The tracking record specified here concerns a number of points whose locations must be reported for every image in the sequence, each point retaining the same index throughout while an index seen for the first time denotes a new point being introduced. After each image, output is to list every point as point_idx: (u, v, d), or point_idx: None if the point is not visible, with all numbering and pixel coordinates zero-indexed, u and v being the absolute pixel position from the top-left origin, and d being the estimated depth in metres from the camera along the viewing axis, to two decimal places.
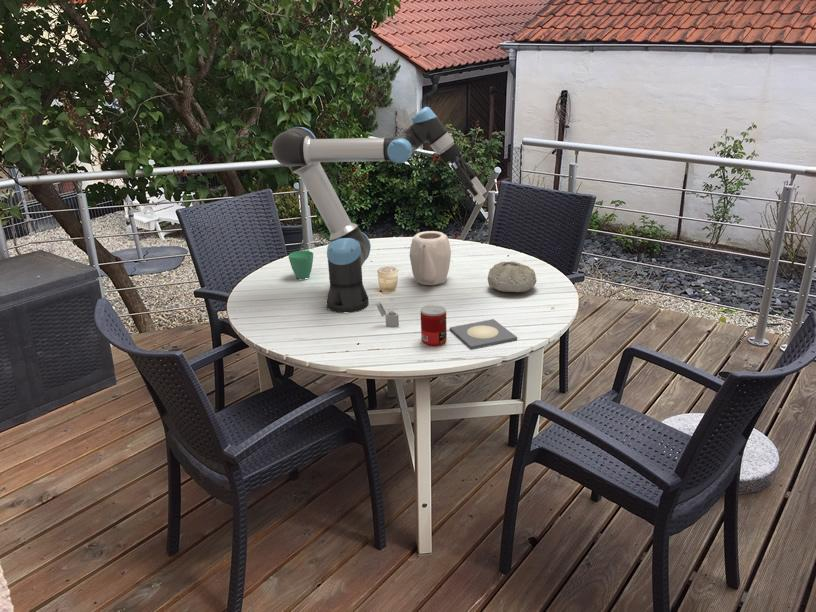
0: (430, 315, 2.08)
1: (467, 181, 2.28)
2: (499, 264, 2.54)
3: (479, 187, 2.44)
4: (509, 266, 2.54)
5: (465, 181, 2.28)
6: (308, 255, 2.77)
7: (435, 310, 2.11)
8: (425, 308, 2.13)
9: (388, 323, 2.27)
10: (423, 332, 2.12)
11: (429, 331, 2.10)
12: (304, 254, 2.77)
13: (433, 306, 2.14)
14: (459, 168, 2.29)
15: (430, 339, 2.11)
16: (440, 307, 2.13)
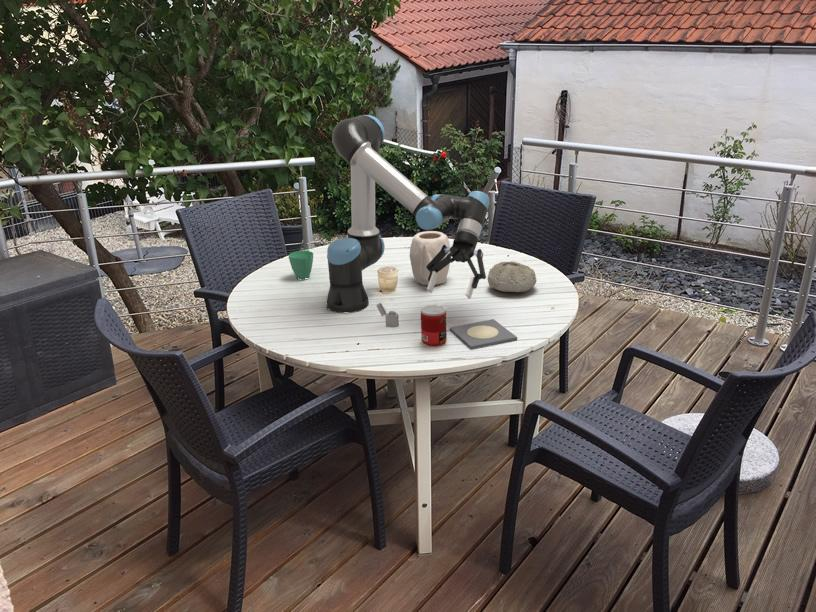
0: (430, 315, 2.08)
1: (484, 273, 2.16)
2: (499, 264, 2.54)
3: (433, 284, 2.21)
4: (509, 266, 2.54)
5: (484, 271, 2.16)
6: (308, 255, 2.77)
7: (435, 310, 2.11)
8: (425, 308, 2.13)
9: (388, 323, 2.27)
10: (423, 332, 2.12)
11: (429, 331, 2.10)
12: (304, 254, 2.77)
13: (433, 306, 2.14)
14: None
15: (430, 339, 2.11)
16: (440, 307, 2.13)
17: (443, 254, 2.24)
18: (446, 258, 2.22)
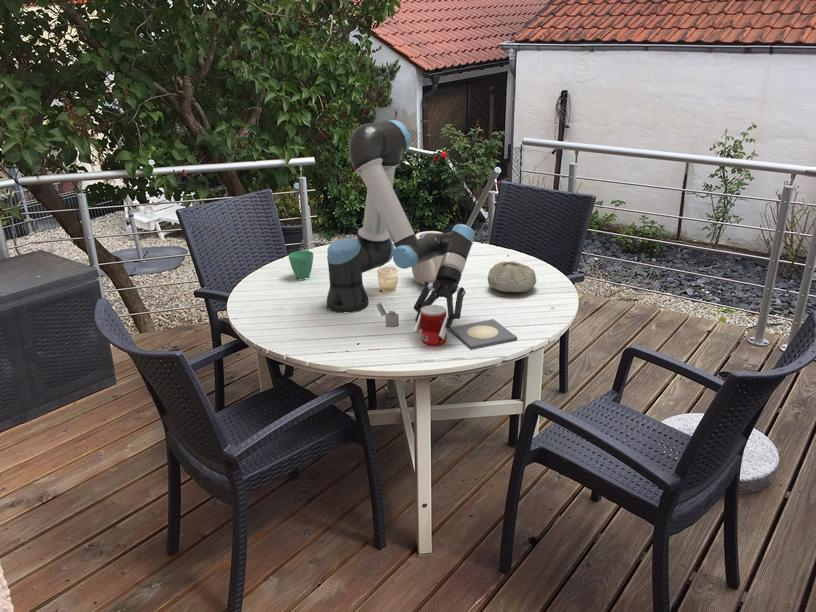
0: (430, 315, 2.08)
1: (460, 313, 2.11)
2: (499, 264, 2.54)
3: (420, 325, 2.14)
4: (509, 266, 2.54)
5: (459, 311, 2.11)
6: (308, 255, 2.77)
7: (435, 310, 2.11)
8: (425, 308, 2.13)
9: (388, 323, 2.27)
10: (423, 332, 2.12)
11: (429, 331, 2.10)
12: (304, 254, 2.77)
13: (433, 306, 2.14)
14: (462, 297, 2.13)
15: (430, 339, 2.11)
16: (440, 307, 2.13)
17: (427, 291, 2.18)
18: (431, 295, 2.15)
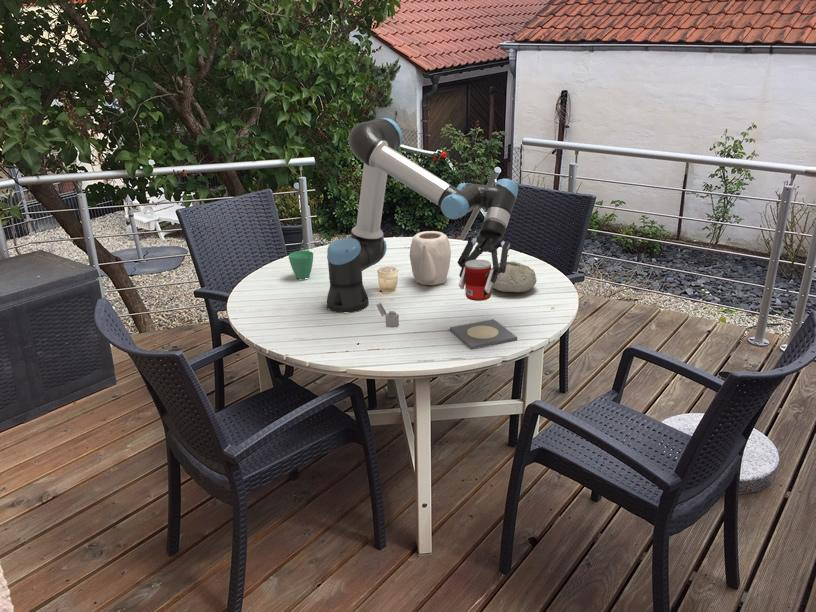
0: (475, 268, 2.06)
1: (505, 267, 2.08)
2: (499, 264, 2.54)
3: (464, 280, 2.12)
4: (509, 266, 2.54)
5: (505, 265, 2.08)
6: (308, 255, 2.77)
7: (480, 264, 2.09)
8: (469, 262, 2.10)
9: (388, 323, 2.27)
10: (468, 286, 2.09)
11: (473, 285, 2.08)
12: (304, 254, 2.77)
13: (477, 260, 2.12)
14: (507, 251, 2.11)
15: (475, 294, 2.09)
16: (485, 261, 2.10)
17: (471, 246, 2.16)
18: (475, 250, 2.13)
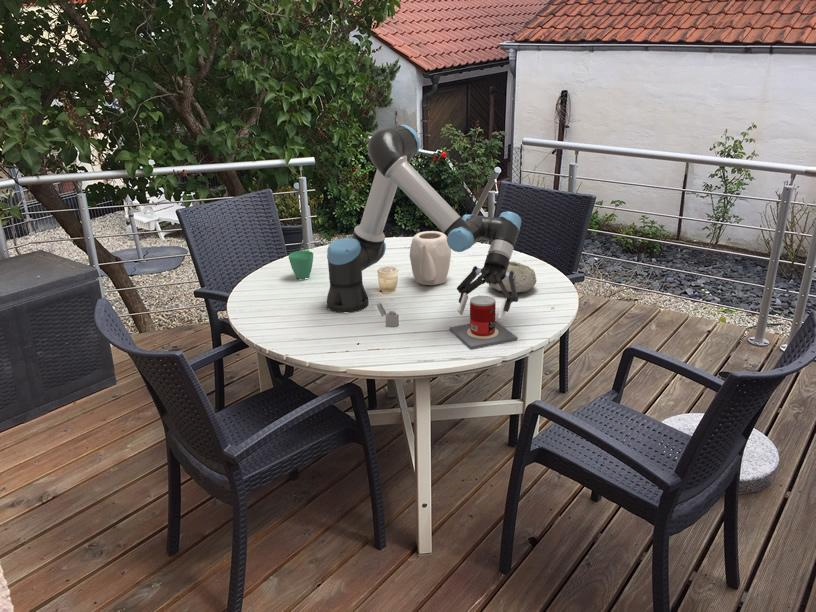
0: (480, 305, 2.11)
1: None
2: None
3: (463, 306, 2.18)
4: (509, 266, 2.54)
5: (516, 293, 2.13)
6: (308, 255, 2.77)
7: (484, 300, 2.14)
8: (474, 299, 2.16)
9: (388, 323, 2.27)
10: (473, 322, 2.15)
11: (478, 321, 2.13)
12: (304, 254, 2.77)
13: (482, 296, 2.17)
14: None
15: (479, 329, 2.14)
16: (489, 297, 2.16)
17: (474, 275, 2.21)
18: (477, 280, 2.18)
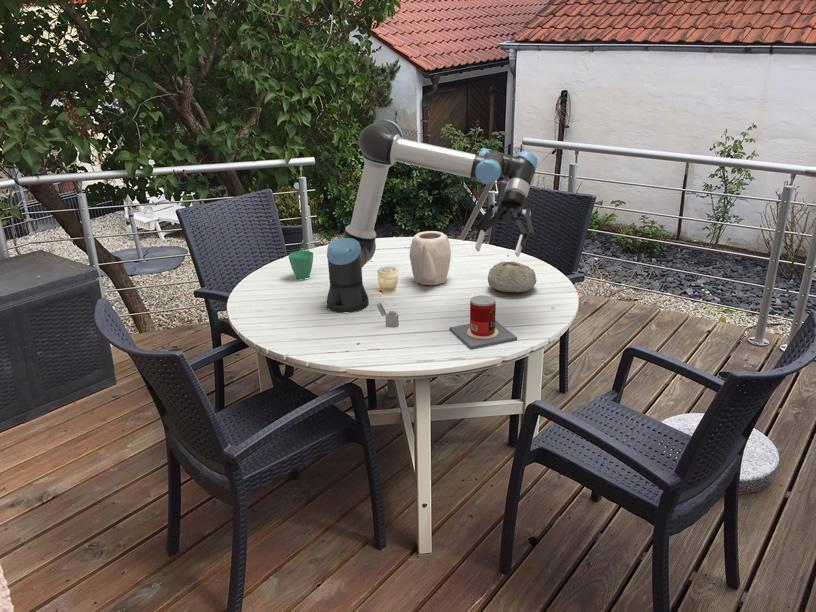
0: (480, 305, 2.11)
1: (533, 231, 2.17)
2: (499, 264, 2.54)
3: (480, 243, 2.22)
4: (509, 266, 2.54)
5: (532, 229, 2.17)
6: (308, 255, 2.77)
7: (485, 300, 2.14)
8: (474, 299, 2.16)
9: (388, 323, 2.27)
10: (473, 322, 2.15)
11: (478, 321, 2.13)
12: (304, 254, 2.77)
13: (482, 296, 2.17)
14: (530, 218, 2.20)
15: (479, 329, 2.14)
16: (489, 297, 2.16)
17: (491, 213, 2.25)
18: (494, 217, 2.22)
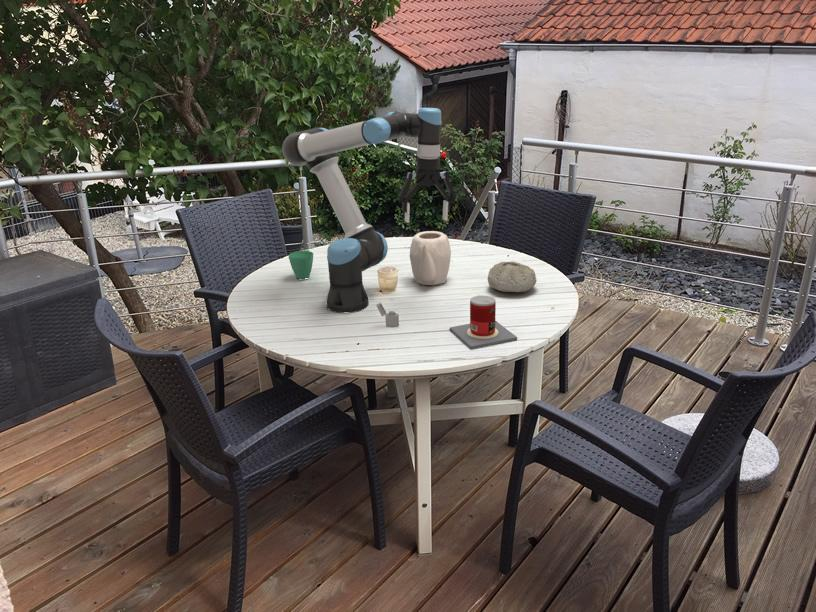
0: (480, 305, 2.11)
1: None
2: (499, 264, 2.54)
3: None
4: (509, 266, 2.54)
5: None
6: (308, 255, 2.77)
7: (485, 300, 2.14)
8: (474, 299, 2.16)
9: (388, 323, 2.27)
10: (473, 322, 2.15)
11: (478, 321, 2.13)
12: (304, 254, 2.77)
13: (482, 296, 2.17)
14: None
15: (479, 329, 2.14)
16: (489, 297, 2.16)
17: None
18: (416, 187, 2.25)
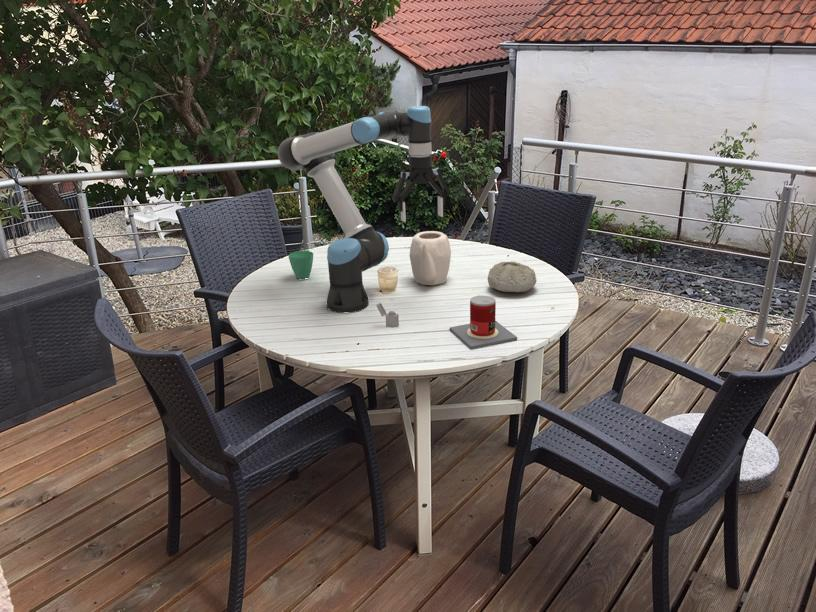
0: (480, 305, 2.11)
1: None
2: (499, 264, 2.54)
3: None
4: (509, 266, 2.54)
5: None
6: (308, 255, 2.77)
7: (485, 300, 2.14)
8: (474, 299, 2.16)
9: (388, 323, 2.27)
10: (473, 322, 2.15)
11: (478, 321, 2.13)
12: (304, 254, 2.77)
13: (482, 296, 2.17)
14: None
15: (479, 329, 2.14)
16: (489, 297, 2.16)
17: None
18: (411, 186, 2.26)
